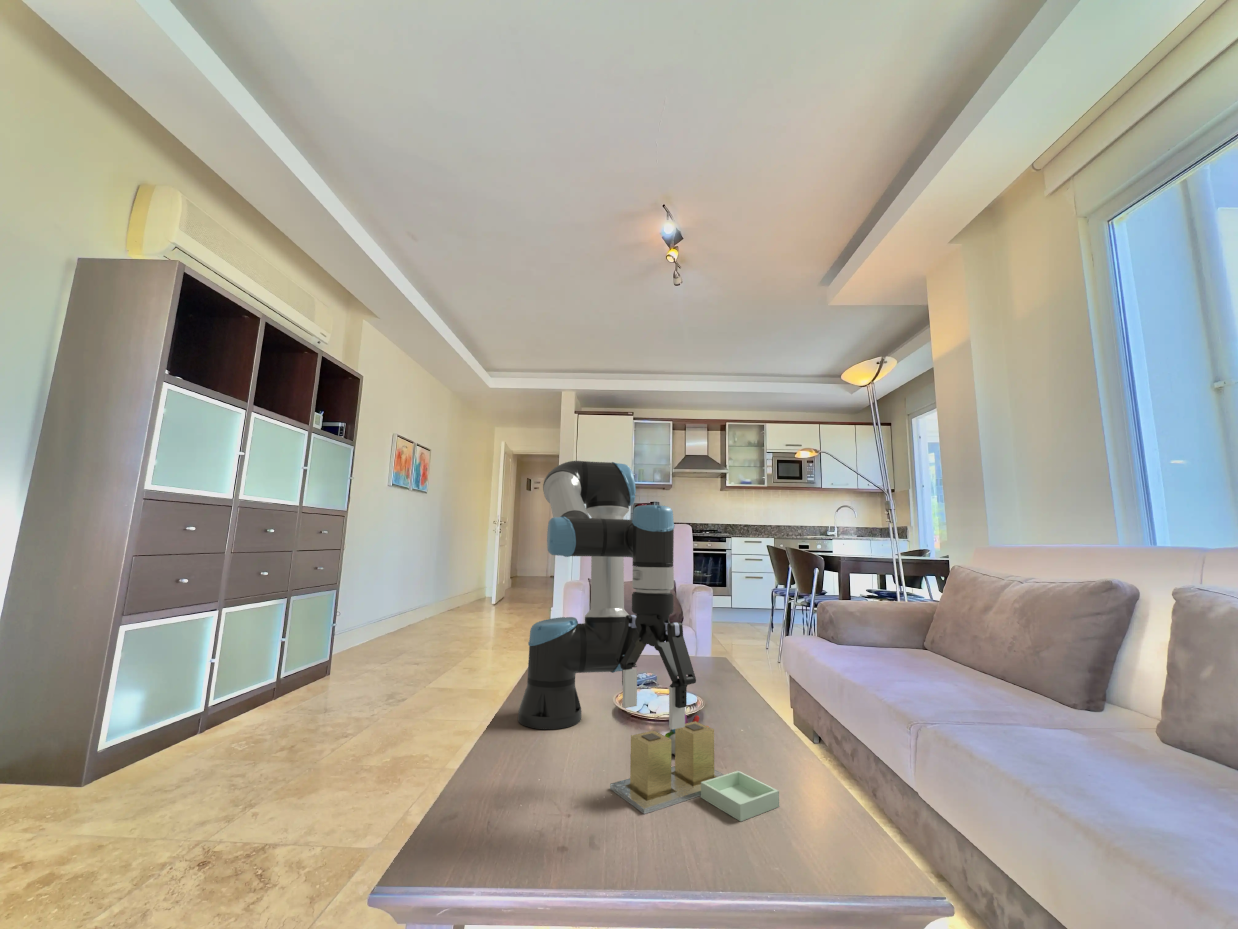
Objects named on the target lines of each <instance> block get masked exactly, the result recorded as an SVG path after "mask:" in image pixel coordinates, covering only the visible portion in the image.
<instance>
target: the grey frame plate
mask: <svg viewBox="0 0 1238 929" xmlns="http://www.w3.org/2000/svg"><path fill="white" fill-rule="evenodd" d="M722 775H725V774H724V773H723V772H720V771H719V770H718V769H717V770H716V769H715V768H714V778H716V777H719V776H722ZM609 790H611V791H612V792H614V793H615V794H616V795H618V796H619V797H621V798H622V799H623V800H625V801H626V802H627V803H629V804H630V806H632V807H634V808H635V809H637V810H638V811H639V812H640V813H642V814H643V815H647V814H649V813H653V812H655V811H658V810H662V809H665V808H667V807H671V806H674V805H676V804H680V803H683V802H685V801H686V802H687V801H689V800H692V799H694V798H698V797H701V784H700V785H697V786H691V785H690V784H688V783H686V782H684V781H683V780H681V779H679V778H678V777H676V776H675V765H674V766H671V794H668V795H664V796H661V797H658V798H655V799H651V800H648V801H646V800H644V799H643V798H642V797H640V796H639V795H637V794H636V793H635V792H633V791H632V790H630V778H625V779H623V780H619V781H616V782H612V783H610V784H609Z"/></svg>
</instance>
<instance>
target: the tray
mask: <svg viewBox="0 0 1238 929" xmlns="http://www.w3.org/2000/svg"><path fill="white" fill-rule="evenodd" d="M700 799H702V800H704V801H706V802H707V803H709V804H711V805H713V806H714V807H716V808H717V809H719V810H721V812H724V813H726V814H727V815H729V816H731V817H732V818H734V819H736V820H737V821H739V822H743V821H746V820H748V819H751V818H754V817H757V816H758V815H761V814H764V813H767V812H770V811H773V810H774V809H778V808H779V807H780V790H779V789H776V788H774V787H772V786H770V785H768V784H766V783H764V782H762V781H760V780H758V779H756V778H754V777H752V776H750V775H748V774H746V773H744V772H742V771H740V770H735V771H733V772H730V773H729V772H728V773H727V774H724V775H722V776H719V777H716V778H713V779H709V780H706V781H703V782H701V796H700Z"/></svg>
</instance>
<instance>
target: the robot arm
mask: <svg viewBox="0 0 1238 929" xmlns="http://www.w3.org/2000/svg"><path fill="white" fill-rule="evenodd" d="M542 490H543V495H544V498H545V499H546V501H547V502H548V503H549V505H550V510H551V514H552V517H551V518H550V519H549V521H548V524H547V531H546V532H547V534H546V536H547V538H546V545H547V546H546V548H547V551H548V554H550V555H552V556H561V557H562V556H563V557H565V558H570V557H591V558H590V560H591V562H590V569H591V570H590V583H591V584H590V609H589V611H588V612H587V613H586V614H585V615H584V623H579V621H578V619H577V618H576V617H574V616H567V617H564V616H562V617H561V616H560V617H554V618H546V619H543V620H540V621H537V622H535V623H534V624H533V625H532V626H531V627H530V631H529V639H528V642H527V644H528V645H527V646H528V663H527V665H528V666H527V681H526V688H525V691H524V695H523V697H522V700H521V702H520V705H519V708H518V715H517V717H518V718H517V719H518V723H519V724H520V725H522V726H524V727H528V728H530V729H531V728H532V729H536V730H556V729H557V730H558V729H559V730H560V729H564V728H570V727H572V726H575V725H577V724H578V723H580V722H581V721H582V706H581V702H580V699H579V696H578V692H577V687H576V674H580V673H582V674H584V673H588V674H589V673H613V674H614V673H616V672H621V679H622V681H621V684H622V685H621V686H622V705H621V707H622V708H623V709H629V708H633V707H637V706H638V705H637V704H638V669H637V667H638V666H637V662H638V660H639V659H640V656H642V653H643V651H644V649H645V647H646V646H647V645H649V646H650V647H654V649H655V651H657V652H658V654H659V655H660V657H661V659H662V663H663V665H664V668H665V669H666V671H667V674H668V676H669V678H670V681H671V683H670V684H669V686H668V691H669V692H668V697H669V698H668V704H669V706H668V709H669V710H668V714H669V716H668V729H670V730H671V729H672V730H673V729H677V728H682V727H685V714H686V707H687V703H688V702H687V700H688V698H687V696H688V695H687V689H688V688H687V687H688V686H689V685H693V684H696V683H697V677H696V675H695V674H696V673H695V671H694V668H693V664H692V661H691V658H690V655H689V650H688V648H687V645H686V644H687V643H686V641H685V638H684V629H683V628H684V627H683V624H682V622H680V621H679V622H678V621H677V622H670V616H671V615H672V614H673V613H674V611H675V610H674V608H675V607H674V602H675V601H674V598H675V596H674V594H673V592H671V590H674V588H675V586H674V583H675V580H674V579H675V578H674V575H675V573H674V572H675V571H674V545H675V544H674V543H675V542H674V539H675V538H674V537H675V536H674V534H675V533H674V532H675V531H674V529H675V523H674V511H673V509H672V508H671V507H670V506H668V505H659V504H658V505H657V504H649V505H648V504H643V505H637V506H636V507H634V509H633V512H632V519H625V518H624V517H625V516H626V515H627V514H628V513H629V511H630V509H629V508H630V507H631V506H634V504H635V501H636V494H637V492H636V482H635V477H634V473H633V471H632V469H631V467H630V466H629V465H628V464H625V463H620V462H619V463H618V462H613V461H612V462H608V461H607V462H605V461H603V462H602V461H587V460H586V461H585V460H584V461H583V460H569V461H565V462H563V463H560V464H558V465H557V466H555V467H554V468H552V469H551V470H550V472H548V474H547V475H546V476H545V478H544V480H543V484H542ZM624 558H631V559H632V581H631V582H632V585H631V586H632V587H631V588H632V589H634V590H635V591H633V593H632V594H631V612H632V613H633V614H629V613H628V611H626V610H625V579H624V578H625V572H624V570H625V569H624V568H625V567H624V566H625V563H624V560H625V559H624Z"/></svg>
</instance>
